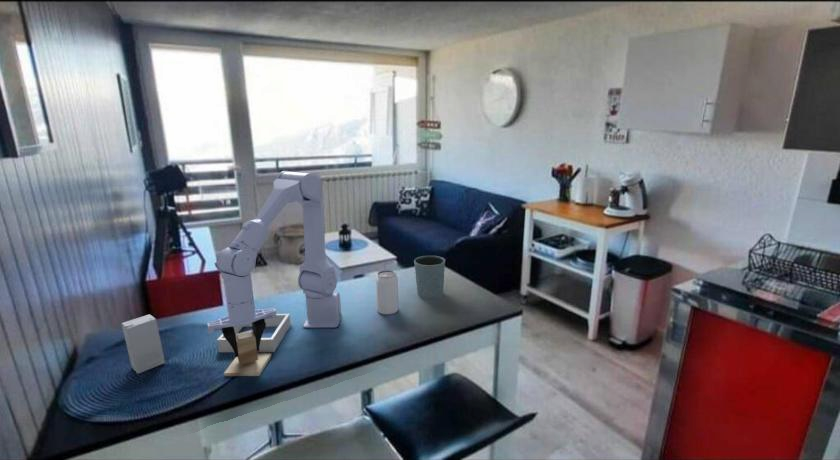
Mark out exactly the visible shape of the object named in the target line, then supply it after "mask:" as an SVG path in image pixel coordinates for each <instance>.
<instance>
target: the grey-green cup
mask: <svg viewBox="0 0 840 460" xmlns="http://www.w3.org/2000/svg"><path fill="white" fill-rule="evenodd" d="M413 262H414V263H413V264H414V271H415V272H414V274H415V283H416V292H417V293H416V294H417V296H418V297H419V298H421V299H423V300H438V299H439V298H442V297H443V294H444V286H445V284H444V283H445V268H446V266H445V265H446V259H445V258H444V257H442V256H437V255H422V256H417V257H416V258H415V259H414V260H413Z"/></svg>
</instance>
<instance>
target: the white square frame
mask: <svg viewBox="0 0 840 460" xmlns="http://www.w3.org/2000/svg"><path fill="white" fill-rule="evenodd" d="M265 323H266V327H277V328H276V329H275V331H274V332H273V334H272V336H271V337H261V341H260V347H259V351H257V353H275V351H276V350H277V348H278V347H279V345H280V343H281V342H282V340H283V338H284V337H285V335H286V334H287V332H288V330H289V329H290V327H291V325H292V323H291V314H290V313H276V318H275V319H272V318H269V319H265ZM244 327H250V328H251V327H252V323H250V324H247V325H243V326H236V327H234V331H235V334H237V333H240V332H241V330H242V329H243V328H244ZM216 343H217V349H218V353H234V350H233V348H232V347H231V345H230V343H229V342H228V341H227V340H226V339H225V337H224V336H223V333H222V334H220V335H219V337H217V339H216Z"/></svg>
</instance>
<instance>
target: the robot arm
mask: <svg viewBox="0 0 840 460" xmlns="http://www.w3.org/2000/svg"><path fill="white" fill-rule="evenodd" d="M272 185H273V189H272V191H271V193H270V194H269V196H268V197H267V199H266V201H265V203H264V204H263V206H262V207H261V209H260V210H259V213H258V215H257V216H256V217H255V219H251V220H247V221H246V222H244V223H243V224H242V226H241V230H240V231H239V232H238V234H237V235H236V237H235V238H234V240H232V241H231V243H230V244H229V247H228V246H227V247H225V248H224V249H222V250H221V251H220V252H219V253H218V255H217V257H216V261H215V262H214V266H215V269H216V270H217V271H219V272H220V273H221V278H222V280H223V287H224V293H225V300H226V301H225V302H226V306H227V313H228V314H227V315H226V316H224V317H222V318H219V319H216V320H212V321H210V322H207V323H206V324H207V331H208V334H209V335H212V334H215V332H218V331H221V332H222V334H223V336H224V337H225V339H226V340H227V341H228V342H229V343H230V345H231V347H232V348H233V350H234V352H233V353H234V356H235V358H236V357H239V356H238V349H237V344H236V334H235V331H234V327H236V326H243V325H247V324H250V323H252V326H251V327H252V331H253V333H254V335H255V339H256V347H257V351H259V347H260V341H261V338H263V334H264V332H265V330H266V327H267V326H266V323H265V319H269V318H272V319H275V318H276V314H277V311H276V309H275V308H274V307H272V308H271V307H270V308H264V309H256V306H255V297H254V289H253V282H252V281H253V280H252V271H253V270H254V269H255V268H256V260H257V258H258V252H259V251H260V249H261V248H262V246H263V245H264V244H265V242H266V241H267V239H268V238H269V236H270V234H271V233H270V226H271V225H272V223H274V220H276V218H277V217H278V216H279V215H280V214H281V212H282V211H283V210H284V209H285V208H286V206H287V204H289V203H294V202H297V203H299V204H300V205H301V206H302V216H303V217H302V220H303V236H304V238H303V239H304V253H305V254H304V256H305V258H304V259H305V261H304V262H303V263H302V264H300V266H299V273H298V278H297V284H298V287H299V288H300V289H301V290H302V292H303V294H304V295H305V306H306V317H307V318H306V320H305V322H304V323H303V328H305V329H307V328H313V329H315V328H318V329H319V328H323V329H324V328H325V329H326V328H328V329H329V328H337V327H338V326H339V323H340V320H341V318H342V309H341V308H342V307H341V306H342V305H341V295H340V292H337V291H335V290H336V288H337V284H338V281H337V280H338V279H337V276H336V274H335V267H334V266H333V265H332V264H331V263H330V262H329V261H328V260H327V259H326V258H327V257H326V256H327V255H326V235H325V234H326V233H325V216H324V215H325V214H324V213H325V212H324V196H323V190H322V189H323V188H322V179H321V178H320V177H319V176H318V175H317V174H315V173H313V172H299V171H298V172H297V171H289V170H283V171H281V172H280V173H279V174H278V175H277V177H276V179H275V180H274V181H273V184H272Z"/></svg>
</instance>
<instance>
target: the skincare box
mask: <svg viewBox="0 0 840 460" xmlns="http://www.w3.org/2000/svg"><path fill="white" fill-rule="evenodd" d="M121 328H122V332H123V335H124V336H123V337H124V339H125V344H126V349H127V352H128V357H129V361H130V365H131V368H132V370H133V371H136V372H135V373H136V374H138V375H139V374H141V373H143V372H147V371H148V370H151V369H153V368H155V367H159V366H161V365H164V364H165V363H166V359H165V356H164V352H163V347H162V346H163V345H162V341H161V335H160V332H159V326H158V322H157V318H155V317H154V316H153V315H151V314H146V315H143V316H140V317H137V318H133V319H130V320H127V321H124V322H121Z"/></svg>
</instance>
